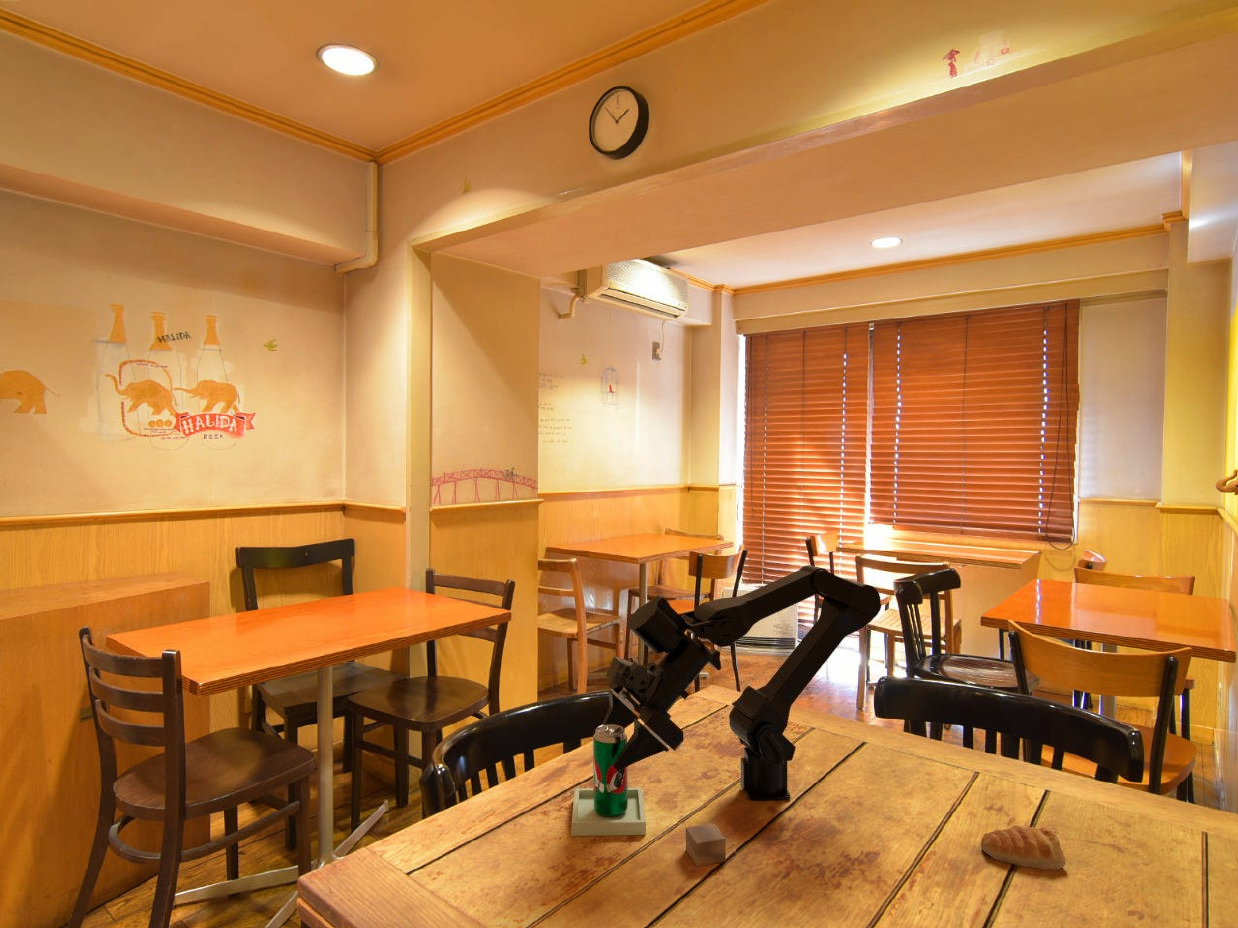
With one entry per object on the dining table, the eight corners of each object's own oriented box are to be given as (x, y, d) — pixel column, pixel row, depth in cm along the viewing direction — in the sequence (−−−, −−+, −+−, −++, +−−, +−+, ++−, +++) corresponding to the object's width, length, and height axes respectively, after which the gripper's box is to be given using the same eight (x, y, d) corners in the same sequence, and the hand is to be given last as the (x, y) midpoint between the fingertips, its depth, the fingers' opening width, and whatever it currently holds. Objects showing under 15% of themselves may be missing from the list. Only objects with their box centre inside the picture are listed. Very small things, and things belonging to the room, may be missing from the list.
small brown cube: (713, 845, 97) (713, 823, 97) (725, 861, 93) (725, 838, 93) (685, 849, 96) (685, 827, 96) (697, 866, 92) (697, 843, 92)
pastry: (992, 869, 91) (992, 839, 91) (972, 841, 98) (972, 813, 98) (1070, 873, 90) (1070, 843, 90) (1044, 845, 97) (1044, 817, 97)
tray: (642, 799, 110) (642, 787, 110) (646, 834, 99) (646, 822, 99) (575, 799, 110) (575, 788, 110) (571, 835, 99) (571, 822, 99)
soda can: (632, 805, 106) (632, 725, 106) (620, 821, 101) (619, 738, 101) (601, 799, 108) (601, 721, 108) (588, 815, 103) (587, 733, 103)
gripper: (619, 624, 115) (553, 700, 111) (661, 654, 97) (584, 746, 94) (665, 667, 117) (602, 743, 114) (714, 705, 99) (641, 796, 96)
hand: (605, 754), depth 104 cm, fingers open, 9 cm apart
